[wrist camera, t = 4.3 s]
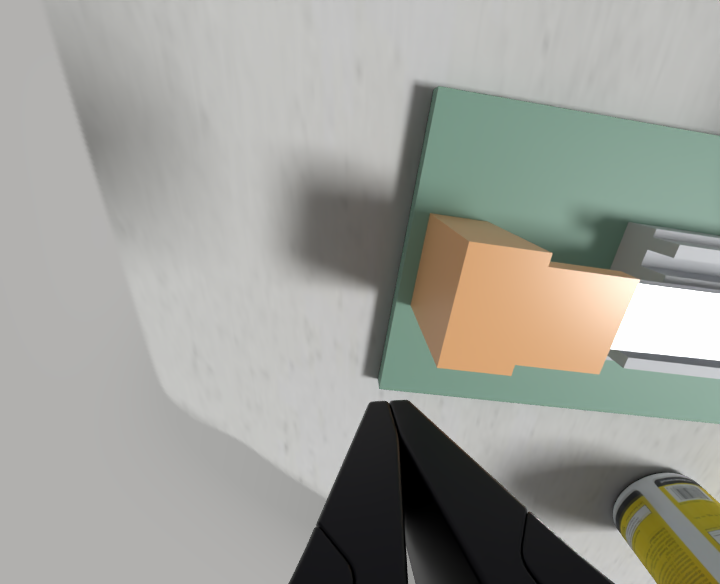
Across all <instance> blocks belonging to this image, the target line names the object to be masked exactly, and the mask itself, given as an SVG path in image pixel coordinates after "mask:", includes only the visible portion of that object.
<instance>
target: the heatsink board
mask: <svg viewBox="0 0 720 584" xmlns="http://www.w3.org/2000/svg"><path fill="white" fill-rule="evenodd" d="M430 213H432V214H439V215H446V216H453V217H459V218H466V219H473V220H480V221H487V222H490V223H492V224H494V225H496V226H498V227H500V228H502V229H504V230H506V231H508V232H510V233H512V234H514V235H516V236H519V237H521V238H523V239H525V240H527V241H529V242H531V243H533V244H535V245H537V246H539V247H541V248H543V249H545V250H547V251H549V252H551V253H553V254H552V257H551V260H550V261H551V262H558V263H565V264H573V265H580V266H587V267H594V268H601V269H609V270H616V271H622V272H624V273H626V274H629V275H631V276H633V277H636V278H638V279H640V280H647V281H655V282H662V283H670V284H678V285H685V286H693V287H701V288H709V289H716V290H720V136H717V135H712V134H706V133H700V132H695V131H689V130H683V129H678V128H672V127H667V126H661V125H655V124H650V123H644V122H638V121H633V120H627V119H621V118H616V117H610V116H604V115H599V114H593V113H587V112H582V111H576V110H570V109H565V108H559V107H553V106H548V105H542V104H537V103H531V102H525V101H520V100H514V99H508V98H503V97H497V96H491V95H486V94H480V93H474V92H469V91H463V90H457V89H452V88H446V87H440V86H438V87H437V88H435V89H434V91H433V96H432V101H431V106H430V112H429V117H428V122H427V127H426V132H425V138H424V143H423V148H422V153H421V158H420V163H419V169H418V174H417V179H416V184H415V189H414V195H413V200H412V205H411V210H410V215H409V221H408V226H407V231H406V236H405V241H404V247H403V252H402V257H401V262H400V267H399V273H398V278H397V283H396V288H395V293H394V299H393V304H392V309H391V314H390V319H389V325H388V330H387V335H386V340H385V345H384V350H383V356H382V361H381V366H380V371H379V376H378V383H379V389H384V390H394V391H404V392H414V393H423V394H433V395H443V396H453V397H462V398H472V399H482V400H491V401H501V402H511V403H521V404H530V405H540V406H550V407H560V408H569V409H579V410H589V411H598V412H608V413H618V414H628V415H637V416H647V417H657V418H666V419H676V420H686V421H696V422H705V423H715V424H720V361H719V360H710V359H700V358H691V357H681V356H672V355H662V354H653V353H643V352H634V351H624V350H615V349H610V351H609V353H608V355H607V358H606V360H605V362H604V365H603V367H602V369H601V372H600V374H590V373H582V372H573V371H564V370H555V369H546V368H537V367H528V366H519V365H515V367H514V369H513V372H512V375H511V376H507V375H498V374H489V373H479V372H470V371H461V370H452V369H443V368H437V367H436V364H435V362H434V359H433V357H432V355H431V352H430V350H429V348H428V345H427V343H426V341H425V338H424V336H423V334H422V331H421V329H420V327H419V324H418V322H417V320H416V317H415V315H414V312H413V310H412V308H411V301H412V296H413V292H414V287H415V282H416V277H417V273H418V268H419V263H420V258H421V254H422V249H423V244H424V239H425V235H426V230H427V225H428V221H429V216H430Z"/></svg>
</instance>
